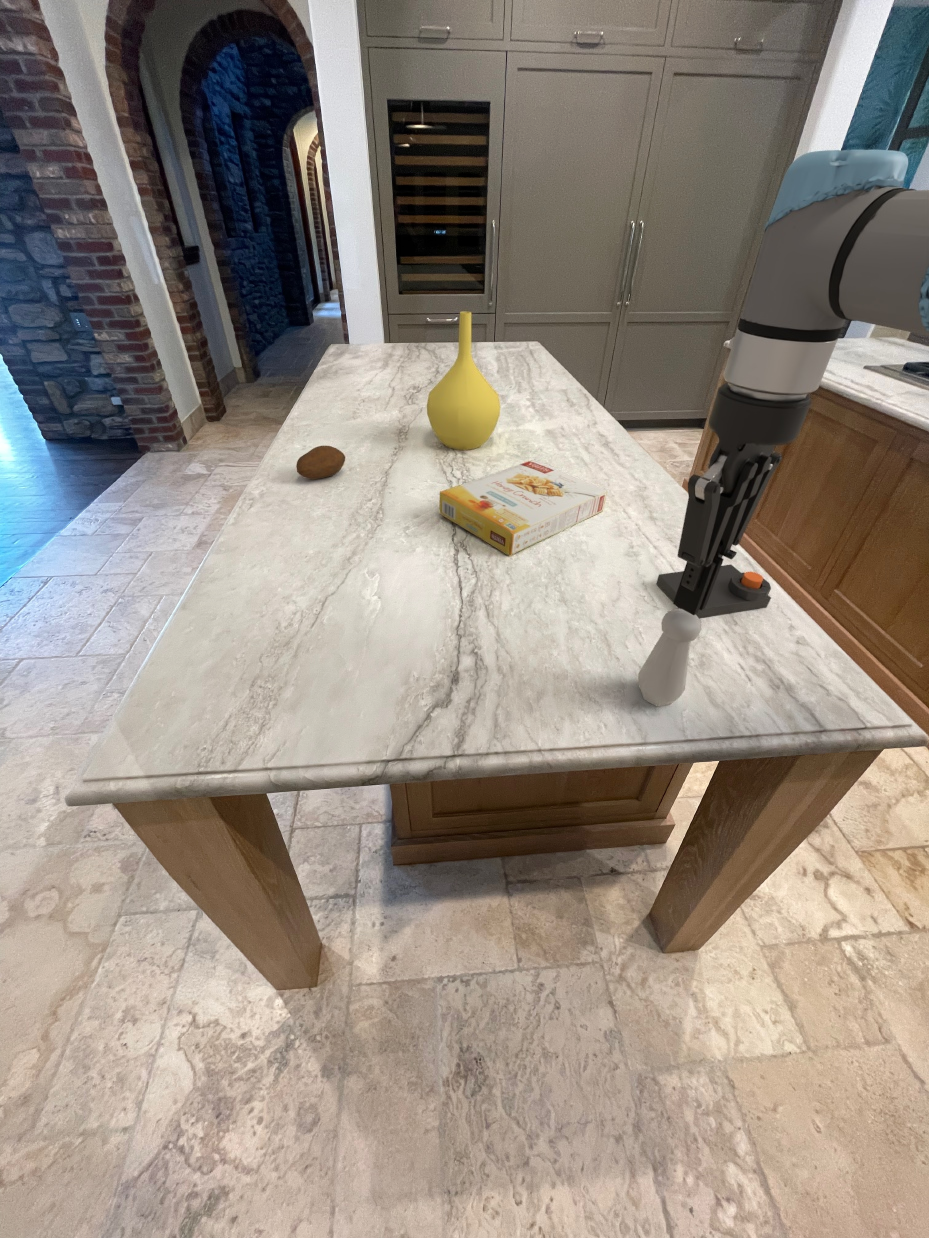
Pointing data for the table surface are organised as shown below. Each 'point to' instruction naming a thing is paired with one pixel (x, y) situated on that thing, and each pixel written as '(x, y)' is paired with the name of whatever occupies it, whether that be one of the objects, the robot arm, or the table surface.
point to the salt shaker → (669, 659)
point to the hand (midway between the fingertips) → (689, 605)
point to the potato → (320, 462)
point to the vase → (463, 399)
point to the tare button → (752, 580)
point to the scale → (722, 592)
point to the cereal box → (521, 504)
